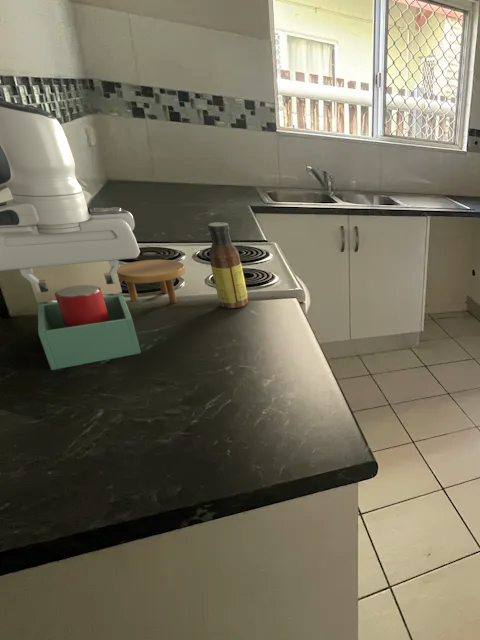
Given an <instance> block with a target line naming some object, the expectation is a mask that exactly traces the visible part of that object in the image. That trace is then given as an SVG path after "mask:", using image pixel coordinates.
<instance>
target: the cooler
mask: <svg viewBox="0 0 480 640" xmlns="http://www.w3.org/2000/svg"><path fill="white" fill-rule="evenodd" d="M103 298H104V301H105V305H106V309H107V312H108V316H109V319H110V321H106V322H100V323H93V324H86V325H80V326H73V327H66V328H65V324H64V321H63V318H62V315H61V312H60V309H59V306H58V303H57V301H56V302H48V303H41V304H38V305H37V332H38V333H37V334H38V337H39V339H40V342H41V345H42V348H43V351H44V354H45V356H46V360H47V363H48V365H49V368H50V370H51V371H53V370H60V369H65V368H70V367H75V366H81V365H85V364H91V363H96V362H97V363H98V362H102V361H106V360H112V359H118V358H123V357H128V356H132V355H138V354H139V355H140V354H141V353H142V352H141V348H140V344H139V339H138V336H137V332H136V329H135V324H134V320H133V318H132V315H131V312H130V310H129V307H128V305H127V303H126V300H125V297H124V294H122V293H121V294H112V295H106V296H105V295H104V296H103Z"/></svg>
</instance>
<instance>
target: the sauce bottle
mask: <svg viewBox="0 0 480 640" xmlns="http://www.w3.org/2000/svg"><path fill="white" fill-rule="evenodd" d="M207 228H208V231H209V234H210V238H211V246H210V249H209V252H208V255H209V262H210V268H211V273H212V276H213V282H214V287H215V289H216V295H217V299H218V301H219V304H220V307H222V308H224V309H239V308H243V307H245V306H247V305H248V302H249V301H248V291H247V286H246V279H245V275H244V271H243V266H242V262H241V259H240V253H239V249H238V248H236V245H234V244H233V242H232V239H231V236H230V226H229V223H228V222H220V221H215V222H210V223H208V224H207Z"/></svg>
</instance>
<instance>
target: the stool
mask: <svg viewBox="0 0 480 640" xmlns="http://www.w3.org/2000/svg"><path fill="white" fill-rule="evenodd" d="M185 273H186V268H185V265H184V263H182V262H180V261H177V260H172V259H145V260H136V261H132V262H128V263H124V264H122V265H119V267H118V270H117V275H118V279H119V281H123V282H125V283H126V287H127V291H128V295H129V299H130V301H131V302H136V301H137V302H139V297H138V293H137V288H136V284H149V283H159V287H160V288H159V289H160V292H161V294H162V293H166V294H167V295H168V300H169V304H177V303H178V300H177V295H176V291H175V287H174V282H173V281H174V279H177V278H180V277H182V276H183V275H185Z"/></svg>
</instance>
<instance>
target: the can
mask: <svg viewBox="0 0 480 640" xmlns="http://www.w3.org/2000/svg"><path fill="white" fill-rule="evenodd" d="M55 297H56V302H57V303H58V306H59V309H60V312H61V315H62V318H63V321H64V324H65V328H66V327H73V326H80V325H86V324H93V323H100V322H106V321H110V319H109V316H108V312H107V309H106V305H105V301H104V298H103V297H104V295H103V294H102V291H101V288H99V287H96V286H91V285H80V286H72V287H67V288H63V289H61V290H59V291H57V292H56V293H55Z"/></svg>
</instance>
